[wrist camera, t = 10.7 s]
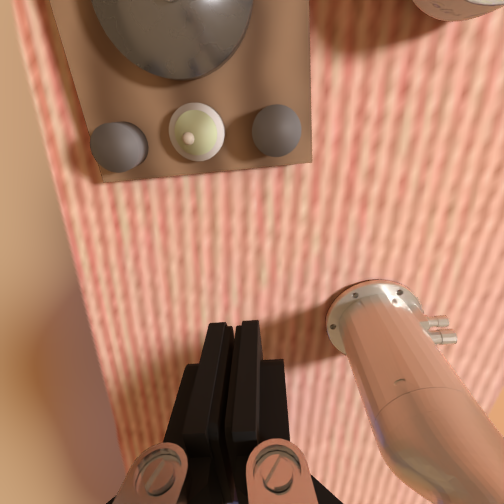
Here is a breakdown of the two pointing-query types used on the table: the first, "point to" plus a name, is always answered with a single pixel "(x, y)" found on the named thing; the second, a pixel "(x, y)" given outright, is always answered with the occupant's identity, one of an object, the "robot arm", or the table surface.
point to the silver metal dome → (175, 33)
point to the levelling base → (194, 99)
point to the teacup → (457, 8)
